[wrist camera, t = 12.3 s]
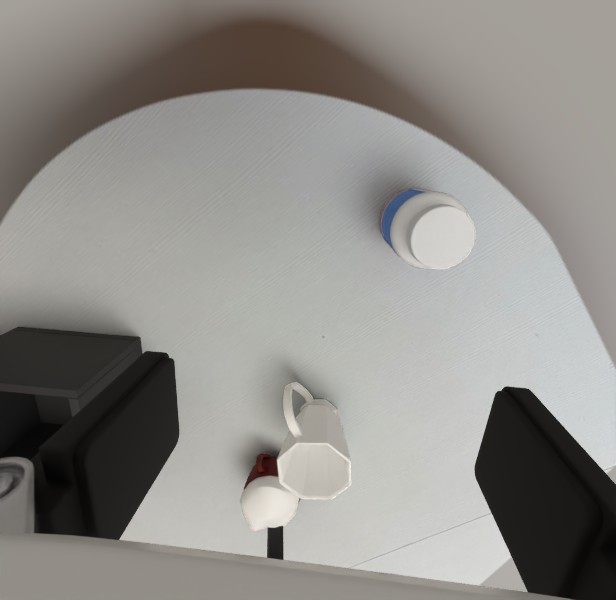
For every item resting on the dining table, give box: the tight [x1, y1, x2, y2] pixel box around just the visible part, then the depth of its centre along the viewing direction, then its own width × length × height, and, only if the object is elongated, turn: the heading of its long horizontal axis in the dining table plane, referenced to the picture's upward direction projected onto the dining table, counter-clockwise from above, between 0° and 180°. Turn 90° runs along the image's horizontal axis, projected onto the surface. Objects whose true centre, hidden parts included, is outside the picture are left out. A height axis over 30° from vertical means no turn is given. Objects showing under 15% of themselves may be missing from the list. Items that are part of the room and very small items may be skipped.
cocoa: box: [240, 454, 300, 560], centre depth 36 cm, size 10×6×12 cm, turn 174°
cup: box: [277, 382, 351, 500], centre depth 34 cm, size 7×10×8 cm
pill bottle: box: [380, 189, 476, 269], centre depth 26 cm, size 6×5×10 cm
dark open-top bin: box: [0, 327, 142, 461], centre depth 35 cm, size 14×13×10 cm
